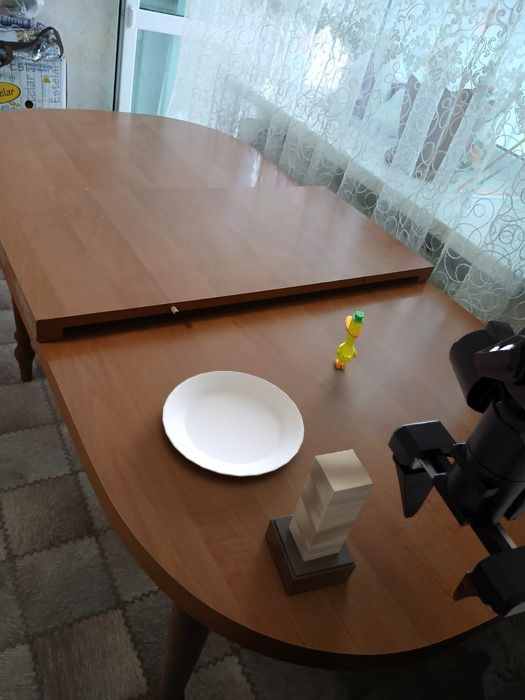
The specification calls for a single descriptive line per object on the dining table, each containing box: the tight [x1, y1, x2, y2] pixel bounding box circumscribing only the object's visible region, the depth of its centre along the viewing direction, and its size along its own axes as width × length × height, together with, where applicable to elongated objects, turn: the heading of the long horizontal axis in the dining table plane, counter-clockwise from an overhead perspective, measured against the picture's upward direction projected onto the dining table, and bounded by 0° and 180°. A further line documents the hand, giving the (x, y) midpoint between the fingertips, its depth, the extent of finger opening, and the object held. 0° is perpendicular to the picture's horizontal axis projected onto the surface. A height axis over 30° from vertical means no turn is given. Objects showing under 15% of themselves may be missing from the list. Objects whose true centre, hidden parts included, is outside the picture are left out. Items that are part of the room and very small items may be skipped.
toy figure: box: [334, 310, 366, 370], centre depth 94 cm, size 7×4×12 cm, turn 1°
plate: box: [161, 370, 305, 477], centre depth 80 cm, size 21×21×2 cm
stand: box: [264, 514, 357, 597], centre depth 65 cm, size 8×8×4 cm
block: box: [289, 449, 374, 562], centre depth 60 cm, size 5×5×13 cm
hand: (431, 555), depth 55 cm, fingers open, 9 cm apart
